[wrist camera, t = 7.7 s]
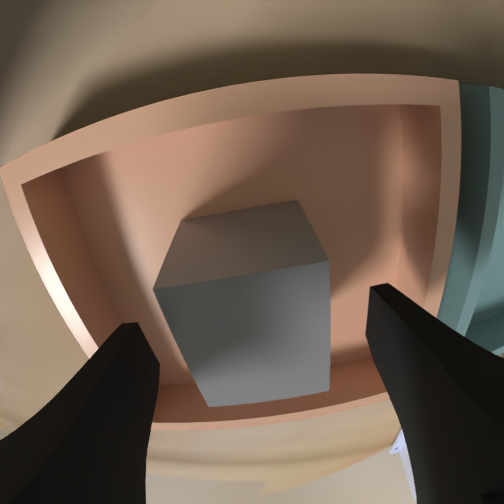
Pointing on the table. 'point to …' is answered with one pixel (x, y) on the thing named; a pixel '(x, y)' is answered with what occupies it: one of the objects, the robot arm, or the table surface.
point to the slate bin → (478, 223)
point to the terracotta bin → (246, 196)
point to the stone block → (249, 304)
